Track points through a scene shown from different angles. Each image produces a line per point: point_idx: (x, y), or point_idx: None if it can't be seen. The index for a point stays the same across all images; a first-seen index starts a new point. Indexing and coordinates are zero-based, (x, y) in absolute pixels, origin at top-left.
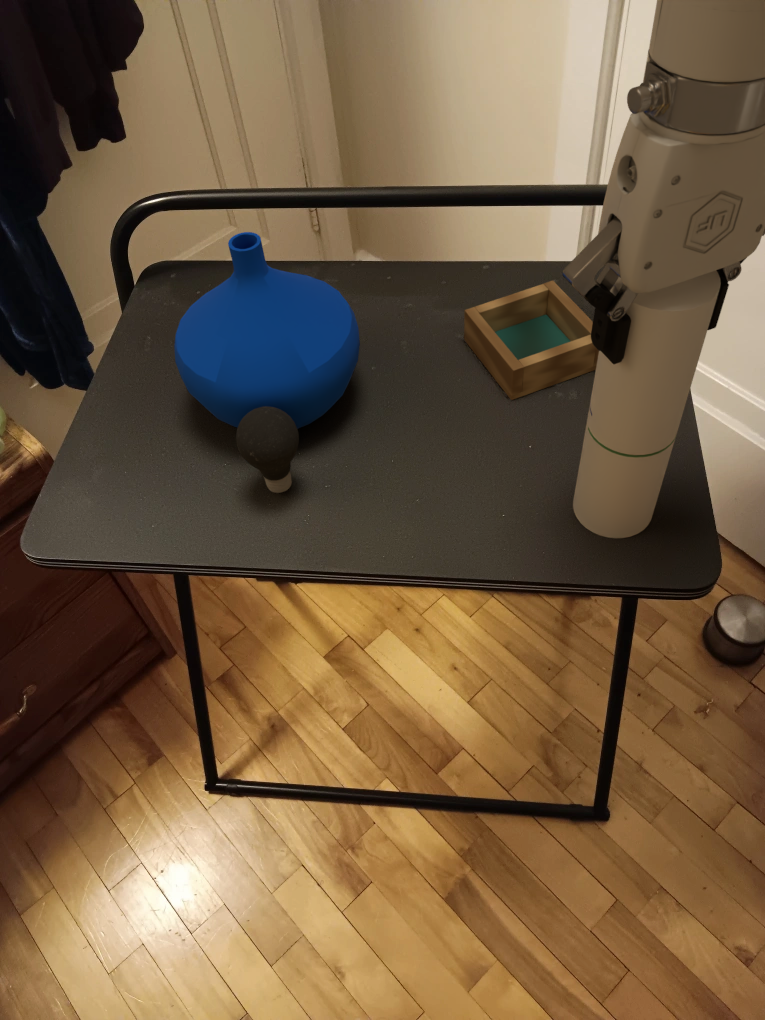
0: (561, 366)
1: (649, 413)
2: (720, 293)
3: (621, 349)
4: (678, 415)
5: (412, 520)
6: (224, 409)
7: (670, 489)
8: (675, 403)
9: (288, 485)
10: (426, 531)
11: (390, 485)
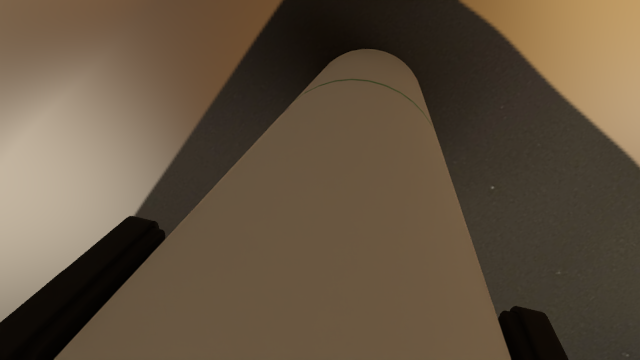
0: None
1: (414, 133)
2: (40, 329)
3: (550, 355)
4: (324, 99)
5: (591, 253)
6: None
7: (277, 79)
8: (346, 113)
9: None
10: (593, 230)
11: (565, 309)
